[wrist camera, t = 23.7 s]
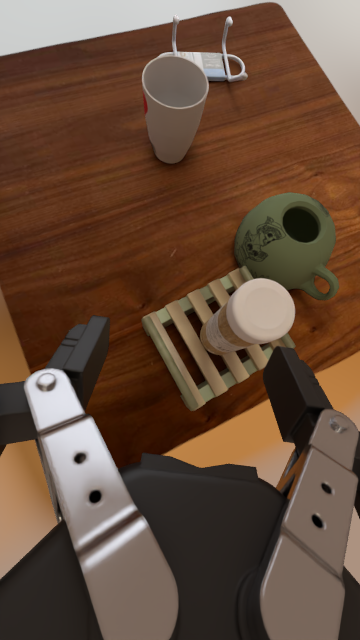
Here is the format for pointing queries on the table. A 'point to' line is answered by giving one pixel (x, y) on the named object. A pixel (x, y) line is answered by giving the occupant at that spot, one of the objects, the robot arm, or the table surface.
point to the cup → (173, 104)
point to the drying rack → (177, 315)
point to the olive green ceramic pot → (288, 243)
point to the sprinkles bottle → (249, 317)
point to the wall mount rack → (210, 58)
